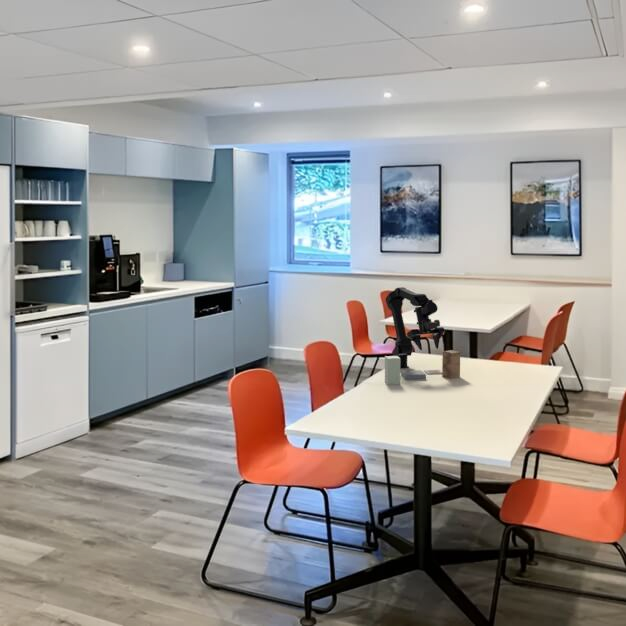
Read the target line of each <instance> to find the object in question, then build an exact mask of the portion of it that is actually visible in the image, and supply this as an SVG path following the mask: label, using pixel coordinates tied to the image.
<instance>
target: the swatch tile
mask: <svg viewBox="0 0 626 626" xmlns="http://www.w3.org/2000/svg"><path fill="white" fill-rule="evenodd" d="M423 372H424V373H425V374H426V375H442V370H440V369H427V370H426V369H425V370H424V369H423Z"/></svg>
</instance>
